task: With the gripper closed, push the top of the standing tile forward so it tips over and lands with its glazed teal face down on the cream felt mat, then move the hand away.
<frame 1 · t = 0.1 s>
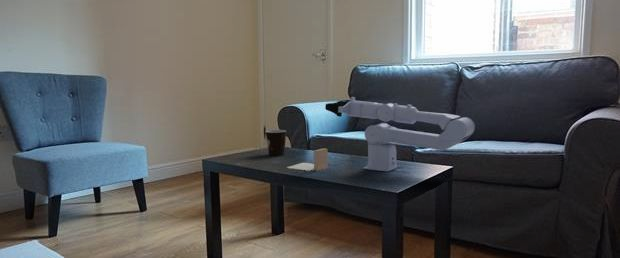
hand: (331, 105, 168), 22 cm above the table, fingers open, 7 cm apart
tile: (320, 169, 161), on the table
felt mat: (306, 167, 164), on the table
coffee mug: (276, 156, 189), on the table
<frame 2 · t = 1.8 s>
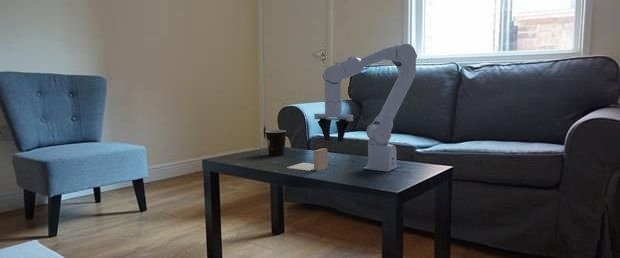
hand: (333, 141, 156), 10 cm above the table, fingers open, 5 cm apart
nothing on the table moved.
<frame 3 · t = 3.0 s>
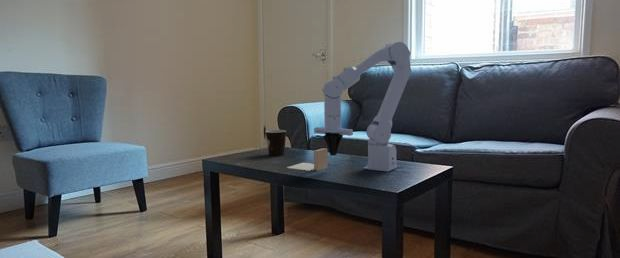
hand: (333, 154, 157), 6 cm above the table, fingers closed
nothing on the table moved.
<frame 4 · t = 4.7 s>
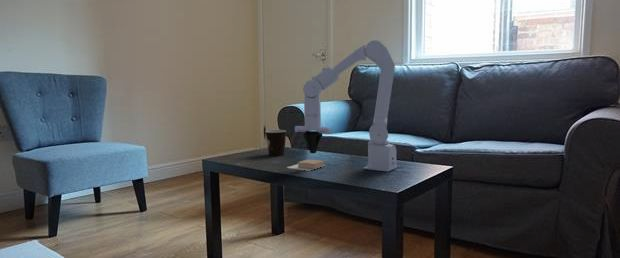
hand: (313, 152, 162), 6 cm above the table, fingers closed
tile: (319, 165, 161), point 1 cm above the table, tilted 90°, touching felt mat
everything else where it was.
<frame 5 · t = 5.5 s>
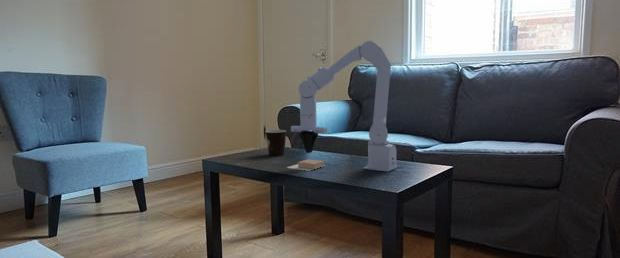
hand: (309, 152, 163), 6 cm above the table, fingers closed
nothing on the table moved.
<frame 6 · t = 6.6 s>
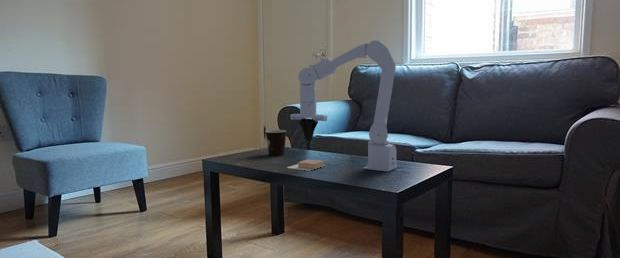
hand: (308, 140, 162), 10 cm above the table, fingers closed
nothing on the table moved.
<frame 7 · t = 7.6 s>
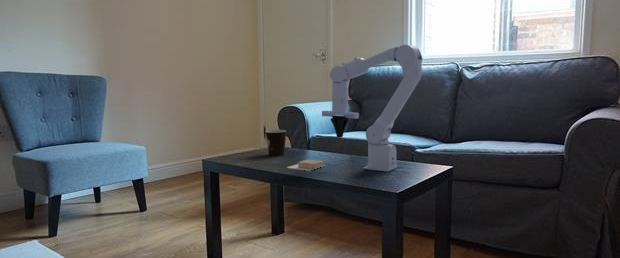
hand: (339, 137, 165), 10 cm above the table, fingers closed
nothing on the table moved.
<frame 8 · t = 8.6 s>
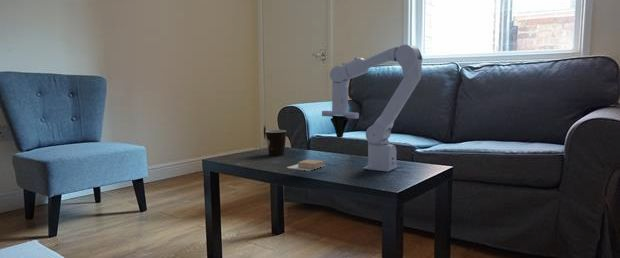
hand: (339, 137, 165), 10 cm above the table, fingers closed
nothing on the table moved.
at the end: tile tilted 90°; tile inside the target area (4.7 cm from its centre), point 1.3 cm above the table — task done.
